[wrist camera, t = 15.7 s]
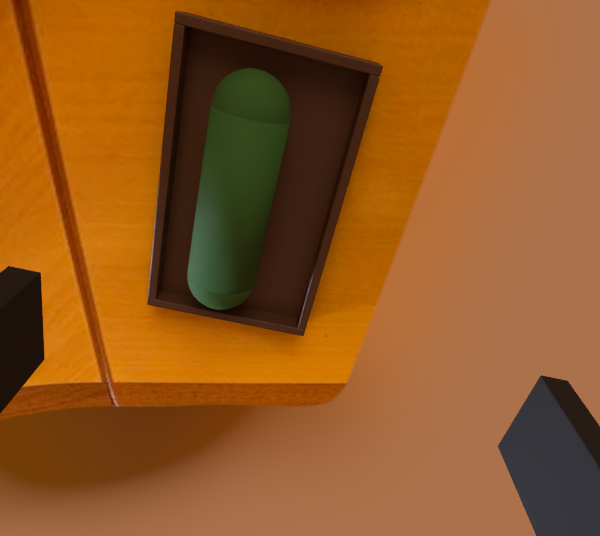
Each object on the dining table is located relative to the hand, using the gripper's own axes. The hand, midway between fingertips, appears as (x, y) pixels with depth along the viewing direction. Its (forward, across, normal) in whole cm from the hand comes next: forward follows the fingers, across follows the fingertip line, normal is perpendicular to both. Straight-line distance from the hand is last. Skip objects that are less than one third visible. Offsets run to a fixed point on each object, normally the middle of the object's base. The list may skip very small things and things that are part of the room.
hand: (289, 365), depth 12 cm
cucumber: (+20, -3, -3) cm, 20 cm away
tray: (+21, -3, -3) cm, 21 cm away
